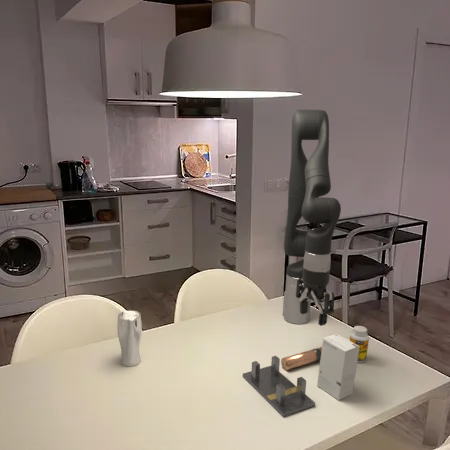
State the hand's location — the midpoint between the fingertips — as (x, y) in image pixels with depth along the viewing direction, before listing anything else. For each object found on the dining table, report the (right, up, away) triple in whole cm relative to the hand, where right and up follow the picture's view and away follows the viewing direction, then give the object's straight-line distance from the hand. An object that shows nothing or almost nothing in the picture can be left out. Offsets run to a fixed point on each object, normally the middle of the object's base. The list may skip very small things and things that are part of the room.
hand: (312, 318), depth 136 cm
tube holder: (-12, -17, -10) cm, 23 cm away
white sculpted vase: (-54, -13, +3) cm, 56 cm away
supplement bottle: (+15, -14, +8) cm, 22 cm away
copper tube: (0, -14, +4) cm, 15 cm away
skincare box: (+5, -18, -9) cm, 21 cm away
